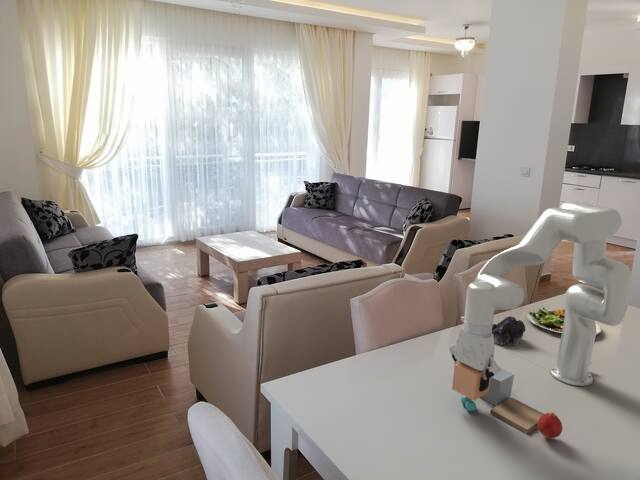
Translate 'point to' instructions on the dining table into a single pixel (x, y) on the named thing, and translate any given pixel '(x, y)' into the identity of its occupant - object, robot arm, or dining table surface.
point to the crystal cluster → (508, 331)
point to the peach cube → (468, 381)
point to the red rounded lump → (550, 425)
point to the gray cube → (499, 387)
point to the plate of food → (551, 319)
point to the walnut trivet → (517, 414)
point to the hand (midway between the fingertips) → (471, 383)
